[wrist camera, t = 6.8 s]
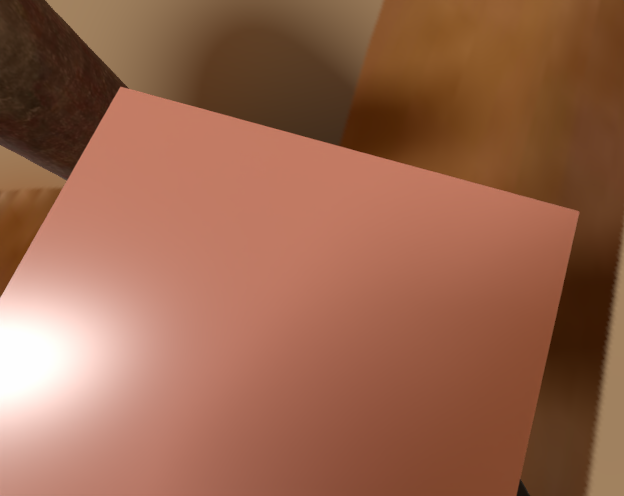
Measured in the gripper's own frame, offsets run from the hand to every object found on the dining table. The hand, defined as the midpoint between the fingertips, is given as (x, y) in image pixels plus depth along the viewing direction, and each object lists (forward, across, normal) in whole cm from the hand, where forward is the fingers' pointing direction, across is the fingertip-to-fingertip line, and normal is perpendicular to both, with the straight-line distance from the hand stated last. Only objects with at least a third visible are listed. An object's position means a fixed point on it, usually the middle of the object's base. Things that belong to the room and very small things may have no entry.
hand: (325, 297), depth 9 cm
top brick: (+4, 0, +6) cm, 7 cm away
